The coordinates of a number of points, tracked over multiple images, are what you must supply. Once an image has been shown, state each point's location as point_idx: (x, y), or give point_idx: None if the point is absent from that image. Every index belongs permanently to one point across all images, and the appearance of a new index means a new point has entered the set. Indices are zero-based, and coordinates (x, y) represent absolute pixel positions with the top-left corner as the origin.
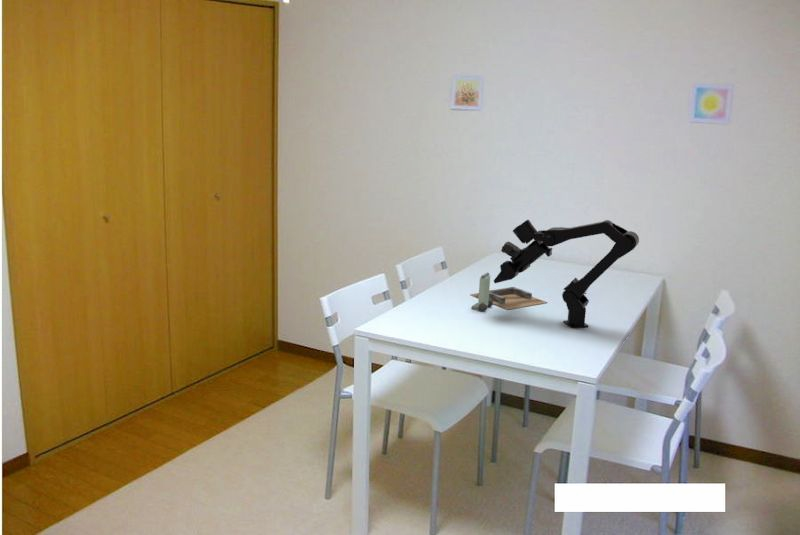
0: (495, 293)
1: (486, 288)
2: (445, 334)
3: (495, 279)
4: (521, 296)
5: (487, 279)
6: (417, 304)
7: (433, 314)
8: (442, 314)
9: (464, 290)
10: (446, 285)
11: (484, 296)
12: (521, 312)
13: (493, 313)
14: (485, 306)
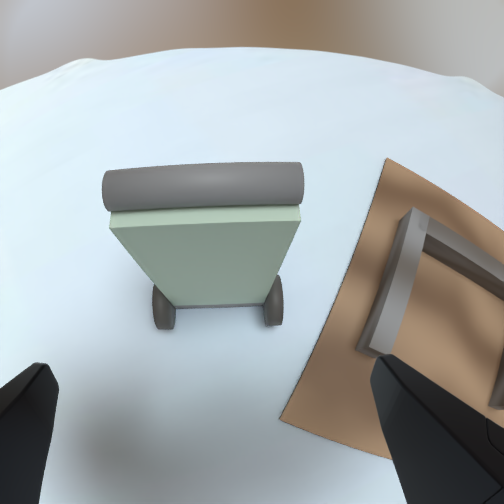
0: (448, 255)
1: (199, 269)
2: None
3: (11, 388)
4: (502, 359)
5: (204, 236)
6: (136, 72)
7: (42, 156)
8: (50, 179)
9: (416, 128)
10: (409, 75)
11: (170, 287)
12: (286, 490)
13: (169, 374)
14: (155, 321)
